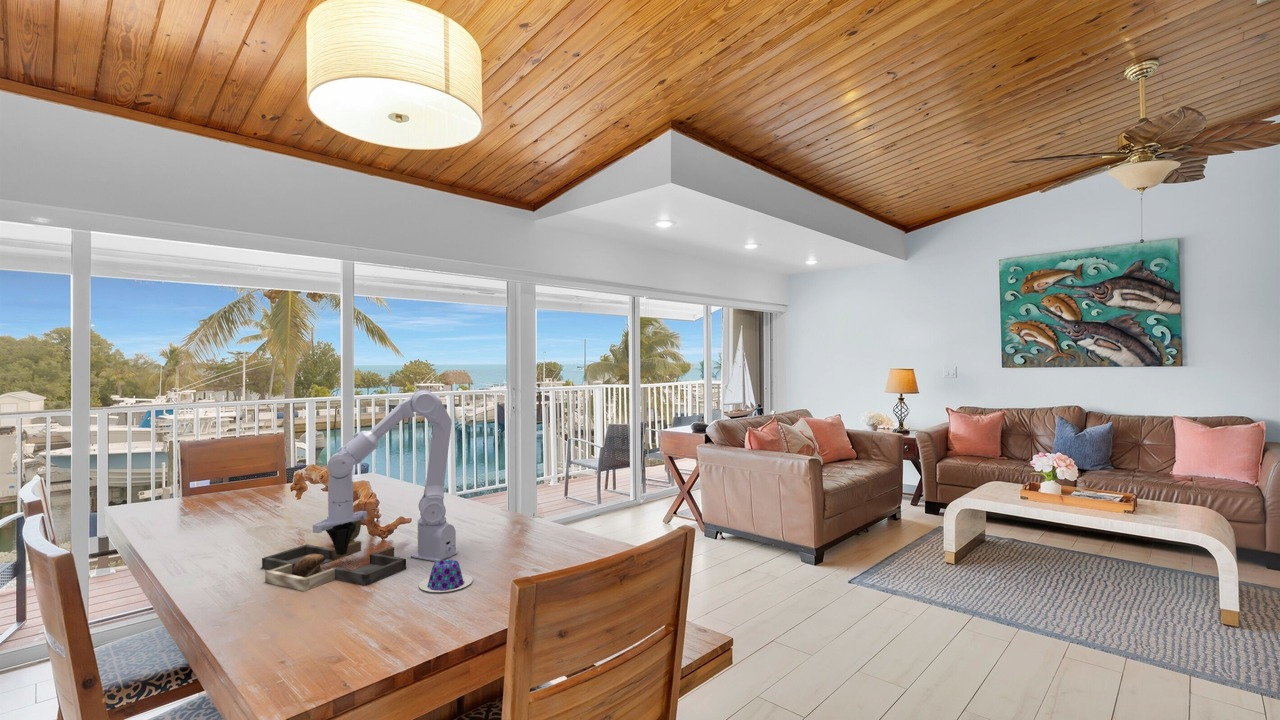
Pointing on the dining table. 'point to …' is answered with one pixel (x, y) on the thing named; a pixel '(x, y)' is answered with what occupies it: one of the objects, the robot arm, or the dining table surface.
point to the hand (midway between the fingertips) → (341, 554)
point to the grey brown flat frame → (374, 571)
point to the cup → (355, 531)
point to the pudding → (445, 577)
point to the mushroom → (308, 565)
